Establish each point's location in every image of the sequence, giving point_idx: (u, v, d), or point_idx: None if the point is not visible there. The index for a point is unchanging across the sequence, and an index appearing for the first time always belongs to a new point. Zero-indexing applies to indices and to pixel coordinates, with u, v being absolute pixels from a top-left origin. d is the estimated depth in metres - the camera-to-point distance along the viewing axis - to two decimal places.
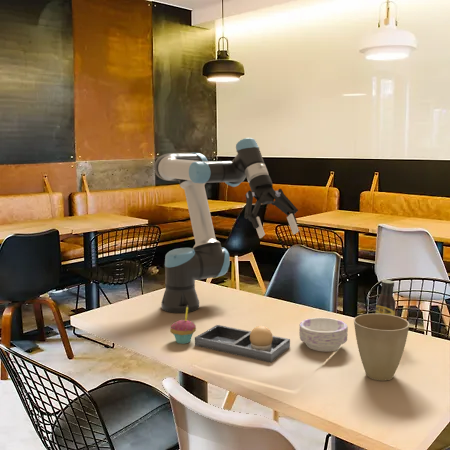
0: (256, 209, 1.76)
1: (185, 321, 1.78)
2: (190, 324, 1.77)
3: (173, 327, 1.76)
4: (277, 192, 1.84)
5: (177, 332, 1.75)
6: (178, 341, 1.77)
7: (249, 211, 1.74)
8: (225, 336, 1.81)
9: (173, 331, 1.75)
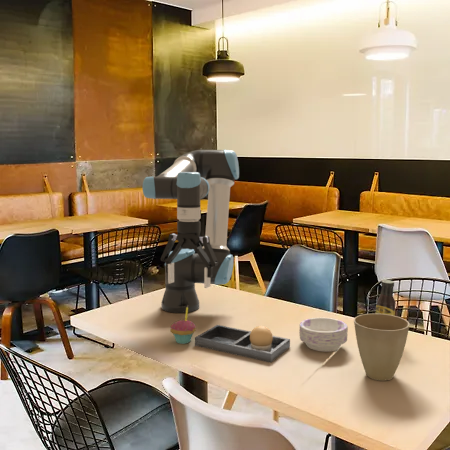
0: (170, 256, 1.76)
1: (185, 321, 1.78)
2: (190, 324, 1.77)
3: (173, 327, 1.76)
4: (202, 239, 1.71)
5: (177, 332, 1.75)
6: (178, 341, 1.77)
7: (162, 257, 1.78)
8: (225, 336, 1.81)
9: (173, 331, 1.75)
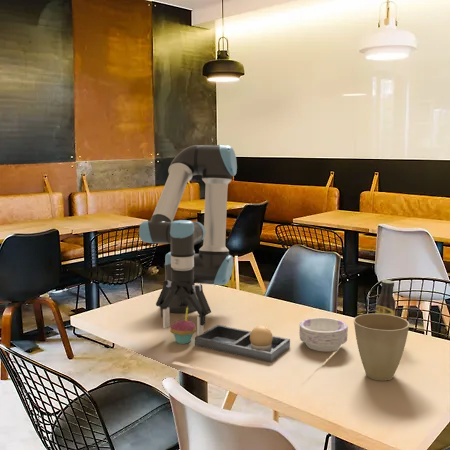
0: (165, 302, 1.79)
1: (185, 321, 1.78)
2: (190, 324, 1.77)
3: (173, 327, 1.76)
4: (195, 287, 1.73)
5: (177, 332, 1.75)
6: (178, 341, 1.77)
7: (158, 302, 1.81)
8: (225, 336, 1.81)
9: (173, 331, 1.75)
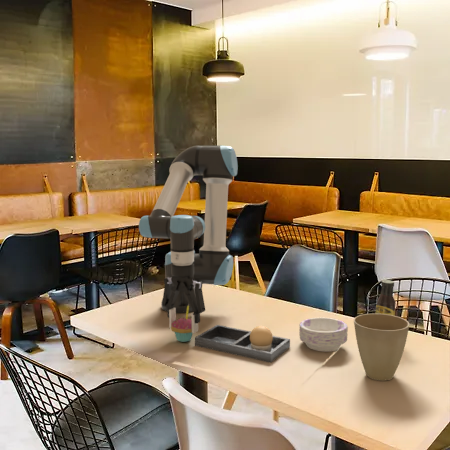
0: (170, 301, 1.78)
1: (186, 319, 1.78)
2: (191, 322, 1.77)
3: (174, 325, 1.76)
4: (195, 284, 1.73)
5: (177, 330, 1.75)
6: (179, 339, 1.77)
7: (163, 302, 1.80)
8: (225, 336, 1.81)
9: (174, 329, 1.76)
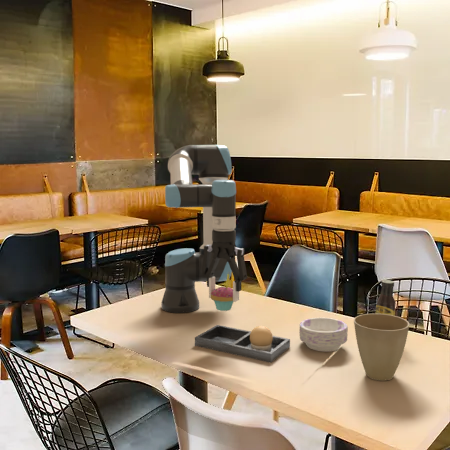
0: (210, 269, 1.73)
1: (226, 288, 1.73)
2: (231, 291, 1.72)
3: (214, 293, 1.71)
4: (237, 250, 1.68)
5: (218, 298, 1.70)
6: (219, 308, 1.72)
7: (203, 270, 1.75)
8: (225, 336, 1.81)
9: (214, 297, 1.70)
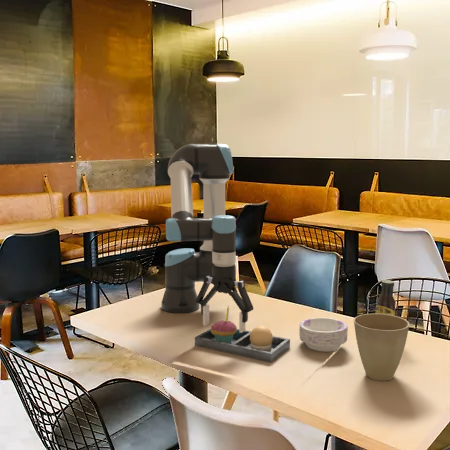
0: (205, 298, 1.76)
1: (226, 322, 1.75)
2: (231, 325, 1.74)
3: (214, 328, 1.73)
4: (237, 284, 1.70)
5: (218, 333, 1.71)
6: None
7: (197, 299, 1.77)
8: None
9: (214, 332, 1.72)
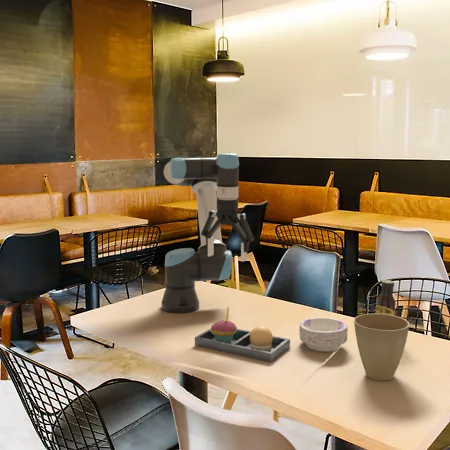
0: (210, 231, 1.90)
1: (226, 322, 1.75)
2: (231, 325, 1.74)
3: (214, 328, 1.73)
4: (239, 216, 1.84)
5: (218, 333, 1.71)
6: None
7: (203, 231, 1.92)
8: None
9: (214, 332, 1.72)
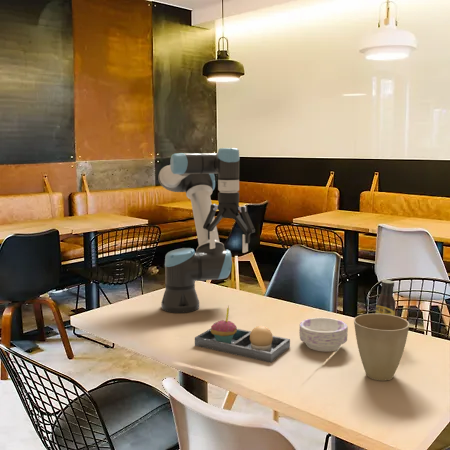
0: (212, 224, 1.96)
1: (226, 322, 1.75)
2: (231, 325, 1.74)
3: (214, 328, 1.73)
4: (240, 209, 1.90)
5: (218, 333, 1.71)
6: None
7: (205, 225, 1.97)
8: None
9: (214, 332, 1.72)
